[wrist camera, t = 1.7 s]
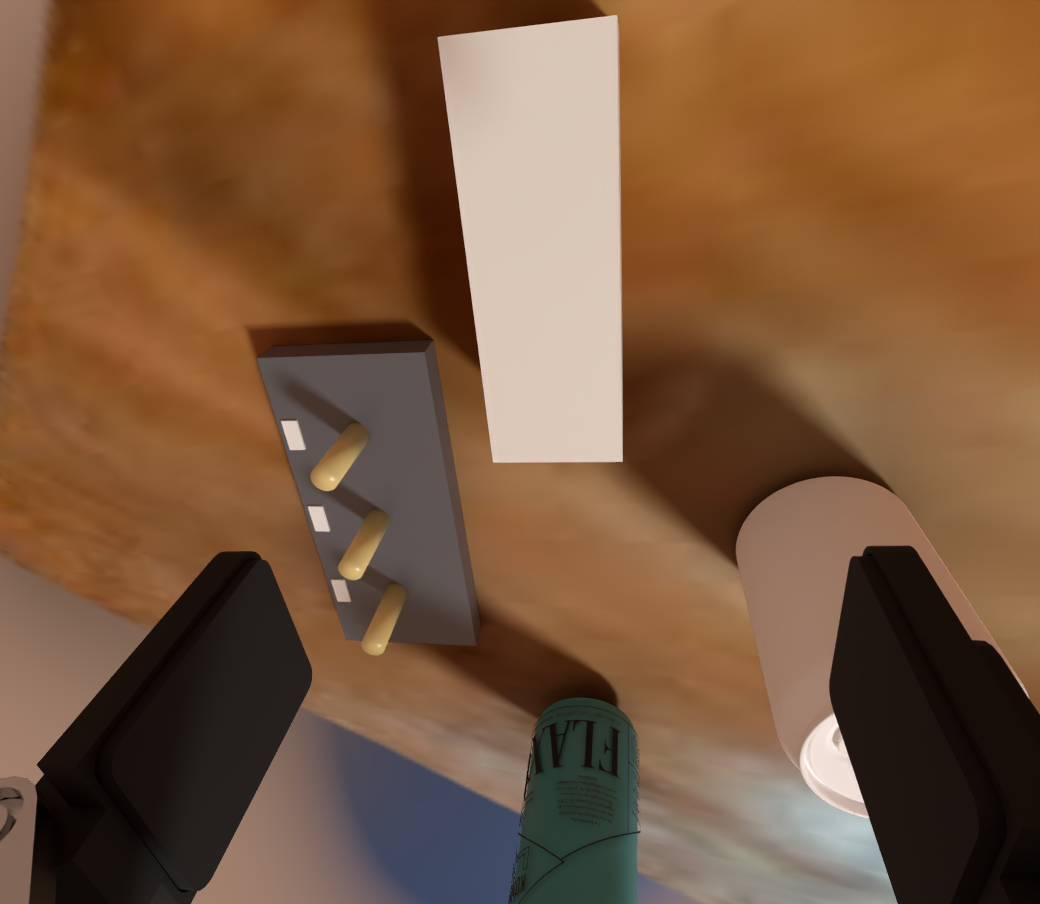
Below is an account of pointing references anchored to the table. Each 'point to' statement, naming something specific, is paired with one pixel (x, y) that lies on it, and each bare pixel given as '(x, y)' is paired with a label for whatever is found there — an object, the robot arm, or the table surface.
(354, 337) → the table surface
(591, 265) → the white rectangular block
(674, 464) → the table surface
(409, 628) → the header
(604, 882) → the beverage bottle
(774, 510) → the beverage can
